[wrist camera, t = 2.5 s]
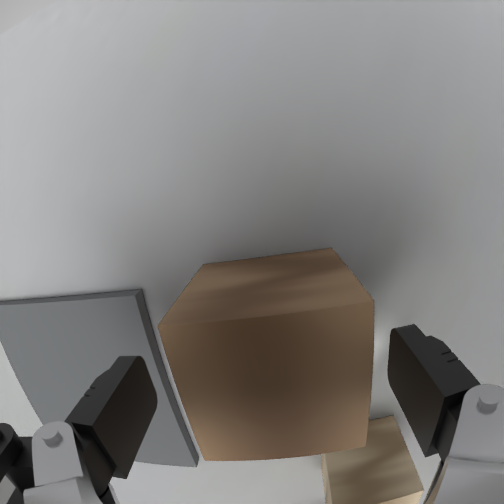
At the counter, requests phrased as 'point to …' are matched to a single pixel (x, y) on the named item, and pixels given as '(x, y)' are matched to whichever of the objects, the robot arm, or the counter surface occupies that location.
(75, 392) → the build mat
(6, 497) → the lumpy-topped squat cylinder
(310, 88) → the counter surface
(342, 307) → the walnut block
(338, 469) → the maple block
